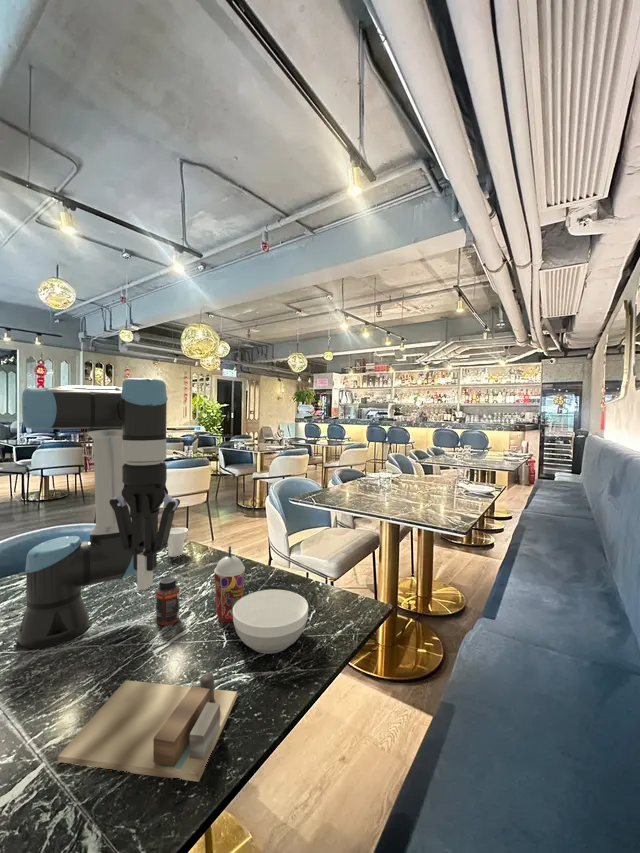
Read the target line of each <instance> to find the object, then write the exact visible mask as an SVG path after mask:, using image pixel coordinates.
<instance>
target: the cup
mask: <svg viewBox="0 0 640 853" xmlns="http://www.w3.org/2000/svg"><path fill="white" fill-rule="evenodd" d="M188 533H189V529H188V528H187V527H182V526H181V527H171V530H170V534H169V538H168V543H167V547H168V554H167V555H168V556H169V557H170V558H176V557H177V556H178V557H181V556H182V555H183V553H184V544H185V541H186V536H187V535H188ZM180 555H181V556H180Z"/></svg>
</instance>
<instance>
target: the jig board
mask: <svg viewBox="0 0 640 853" xmlns="http://www.w3.org/2000/svg"><path fill="white" fill-rule="evenodd" d="M199 680H200V681H199V687H201V688H207V689H210V703H209V702H207V703H206V705H205V707H204V709H203V711H202V713H201V714H200V716H199V718H198V720H197V722H196V724H195V725H194V727H193V729H192V731H191V733H190V742H189V744H188V745H187V747H186V748H185V750H184V752H183V753H182V755H181V756H180V758H179V760H178V761H177V763H176V764H175V766H174V767H172V766H168V765H163V764H158V763H153V738H154V737H155V736H156V734H157V733H158V732H159V730H160V729H161V727H162V726H163V725H164V723H165V722H166V721H167V719H168V718H169V717H170V715H171V714H172V713H173V711H174V710H175V709H176V707H177V706H178V705H179V703H180V702H181V700H182V699H183V698H184V696H185V695H186V694H187V692H188V691H189V690H190V688H191V687H192V686H186V685H175V684H166V683H165V684H164V683H157V682H148V681H147V682H145V681H139V680H137V681H136V680H129V679H127V680H124V681H123V682H122V684H121V685H120V686H119V687H118V688H117V689H116V690H115V691H114V692H113V694H112V695H111V696H110V697H109V698H108V699H107V701H105V703H103V705H102V706H101V707H100V708H99V710H98V711H97V712H95V714H94V715H93V716H92V717H91V718H90V720H89V721H87V722H86V723H85V725H84V726H83V727H82V728H81V730H80V731H78V733H77V734H76V735H75V736H74V737H73V738H72V739H71V741H69V743H68V744H67V745H66V746H65V748H64V749H62V751H61V752H60V753H59V754H58V755H57V763H58V762H64V763H73V764H80V765H89V766H94V767H101V768H106V769H113V770H117V771H116V772H120V771H124V772H123V773H128V772H130V773H129V774H136V775H143V776H144V775H145V776H153V777H157V778H158V777H160V778H166V779H167V778H168V779H173V778H180V779H179V780H181V779H182V780H183V781H190V782H197V783H198V782H200V780H201V779H202V775H203V774H204V772H205V769H206V767H207V765H206V764H208V763H209V760H210V758H211V756H212V754H213V752H214V749H215V747H216V745H217V743H218V741H219V738H220V736H221V734H222V731H223V729H224V727H225V725H226V724H227V720H228V718H229V716H230V714H231V711H232V709H233V707H234V704H235V703H236V700H237V698H238V691H233V690H226V689H215V675H214V674H212V673H205V674H203V675H202V676H201V677H200V679H199ZM212 751H213V752H212ZM211 753H212V754H211ZM210 755H211V756H210ZM209 757H210V758H209ZM208 759H209V760H208ZM207 762H208V763H207ZM205 766H206V767H205ZM126 771H127V772H126Z"/></svg>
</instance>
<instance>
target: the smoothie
mask: <svg viewBox="0 0 640 853" xmlns="http://www.w3.org/2000/svg"><path fill="white" fill-rule="evenodd" d="M213 569H214V570H213V572H214V587H215V588H214V589H215V590H214V591H215V600H216V601H215V602H216V603H215V604H216V607H215V608H216V615H217V617H218V619H219V621H221V622H222V623H232V622H233V607H234V605H235V603H236V602H237V601H238V600H239V599H241V598H242V597H244V585H245V584H244V583H245V572H246V571H245V569H246V567H245V565H244V563H243V562H242V561H241V559H240V558H238V557H237V556H235V555H232V546H231V545H230V546H229V545H228V555H227V556H224V557H222V558H221V559H220V560H219V561H218V562H217V565H216V567H215V568H213ZM233 623H234V622H233Z"/></svg>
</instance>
